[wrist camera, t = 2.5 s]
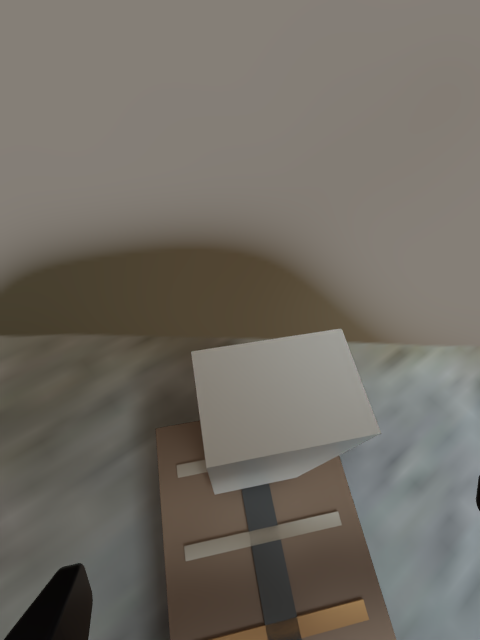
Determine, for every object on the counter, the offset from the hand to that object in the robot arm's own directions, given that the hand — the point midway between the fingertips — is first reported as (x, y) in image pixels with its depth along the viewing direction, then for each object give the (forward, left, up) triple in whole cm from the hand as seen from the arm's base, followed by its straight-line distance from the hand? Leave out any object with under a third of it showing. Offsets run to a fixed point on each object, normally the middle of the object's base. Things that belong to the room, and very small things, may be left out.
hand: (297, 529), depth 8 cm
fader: (+3, 0, -7) cm, 8 cm away
